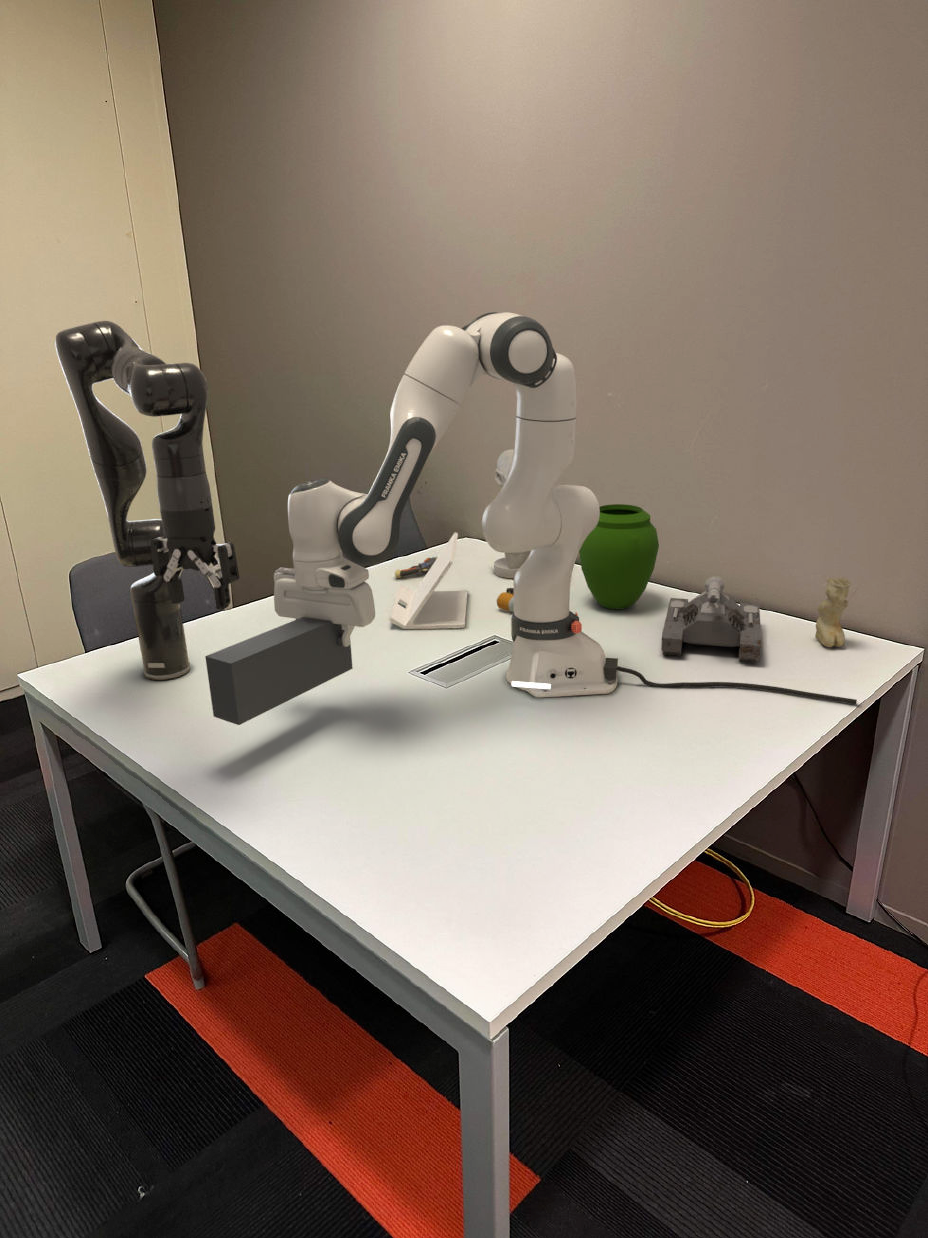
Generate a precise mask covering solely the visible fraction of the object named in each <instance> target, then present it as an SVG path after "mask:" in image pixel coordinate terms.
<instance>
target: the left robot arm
mask: <svg viewBox="0 0 928 1238" xmlns="http://www.w3.org/2000/svg"><path fill="white" fill-rule="evenodd" d="M54 345H55V351H56V355H57V358H58V361H59V364H60V367H61V370H62V372H63V375H64V378H65V381H66V383H67V386H68V389H69V392H70V395H71V397H72V401H73V403H74V405H75V408H76V410H77V411H76V412H77V413H78V414H77V415H78V416H79V417H78V418H79V420H80V424H81V428H82V433H83V436H84V439H85V443H86V447H87V451H88V455H89V459H90V462H91V466H92V470H93V472H94V475H95V478H96V481H97V483H98V488H99V490H100V492H101V497H102V500H103V503H104V507H105V511H106V515H107V520H108V525H109V530H110V534H111V538H112V544H113V548H114V552H115V555H116V558H117V560H118V562H119V563H120V564H121V565H122V566H123V567H128V568H135V567H136V568H137V567H147V566H152V568H153V569H152V570H153V572H152V573H150V574H149V575H147V576H145V577H142V578H140V579H138V580H137V581H134V582H133V583H132V584H131V586H130V591H129V593H130V598H131V603H132V604H131V605H132V609H133V615H134V620H135V627H136V631H137V637H138V643H139V650H140V655H141V661H142V666H143V674H144V677H145V678H146V679H147V680H152V681H167V680H172V679H177V678H179V677H182V676H184V675H185V674H187V673H188V672H189V671H190V670H191V663H190V661H189V659H190V658H189V654H188V653H189V652H188V648H187V647H188V646H187V641H186V640H187V639H186V632H185V627H184V621H183V615H182V614H183V613H182V607H181V603H183V602H184V601H185V593H184V586H183V581H182V578H181V575H182V573H183V571H184V570H193V571H197V572H201V573H202V574H203V576H205V577H206V578H208V579H209V580H210V582H211V583H212V584H213V585H214V587H213V593H214V600H215V607H216V610H219V611H223V610H225V609H227V608H228V607H229V606H230V604H231V601H232V600H231V595H230V594H231V592H230V584H232V583H234V582H237V581H238V580H240V572H239V565H238V561H237V555H236V550H235V545H234V543H233V542H231V541H228V542H226V543H217V541H216V539H215V532H216V521H215V515H214V508H213V500H212V492H211V486H210V482H209V478H208V474H207V469H206V463H205V455H204V454H205V453H204V446H203V445H204V444H203V441H204V440H203V439H204V428H205V419H206V418H205V417H206V413H207V408H208V407H207V406H208V399H209V387H208V386H209V385H208V382H207V379H206V376H205V374H204V373H203V372H202V370H201V369H200V368H199V367H198V365H195V364H194V363H191V362H177V363H166V362H165V361H164V360H163V359H161V358H160V357H158V356H156V355H154V354H152V353H150V352H148V351H146V350H143V348H141V347H140V346H139V344H138V343H137V342H136V341H135V340H134V339H133V338H132V337H131V336H130V335H129V334H128V333H127V331H125V330H124V328H122V327H121V326H120V325H118V324H117V323H115V322H114V321H110V320H99V321H94V322H89V323H87V324H86V323H85V324H82V325H81V324H80V325H77V326H73V327H70V328H66V329H63V330H60V331H59V332H58V333H56V336H55V338H54ZM110 380H113V382H114V384H115V385H116V386H117V387H118V388H119V389H120V390H121V391H122V392H124V393H125V394H127V395H129V396H130V397H131V401H132V404H133V406H134V408H135V409H136V411H137V412H138V413H139V414H141V415H143V416H146V417H154V418H156V417H164V416H165V417H167V416H176V415H180V416H179V419H178V422H177V424H176V426H174V427H173V428H171V429H169V430H166V431H163V432H161V433H158V434H156V435H155V436H154V437H153V438H152V441H151V449H152V455H153V462H154V468H155V474H156V494H157V499H158V505H159V512H160V518H153V519H152V518H151V519H142V520H128V519H127V518H128V513H129V510H130V508H131V506H132V503H133V501H134V500H135V498H136V497H137V495H138V493H139V491H140V490H141V488H142V486H143V483H144V482H145V480H146V477H147V472H148V469H147V468H148V467H147V462H146V458H145V454H144V450H143V449H144V448H143V445H142V441H141V439H140V436H139V435H138V434H137V432H136V431H135V430H134V429H133V428H132V427H131V426H130V425H128V424H127V423H126V422H125V421H124V420H122V419H121V418H120V417H118V416H117V415H116V414H114V413H113V412H112V411H111V410H110V409H109V408H107V407H106V406H105V405H104V403H102V402H101V401H100V399H98V398H97V397H96V395H95V393H94V390H93V386H94V385H95V384H99V383H102V382H106V381H110ZM211 565H212V566H211Z"/></svg>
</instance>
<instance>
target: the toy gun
mask: <svg viewBox="0 0 928 1238" xmlns="http://www.w3.org/2000/svg"><path fill="white" fill-rule="evenodd" d="M437 558H438V556H435V557H434V556H432V557H427V558H426V559H424V560H423V562H420V563H418V565H412V566H411V567H409V568H405V569H399V568H397V569H396V570H394V575H395V578H396V579H400V578H405V577H409V576H413V575H417V574H419V573H425V572H428V571H429V570H430V568H431V567H432V565H433V564H434V562H435V561H436V559H437Z"/></svg>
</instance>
